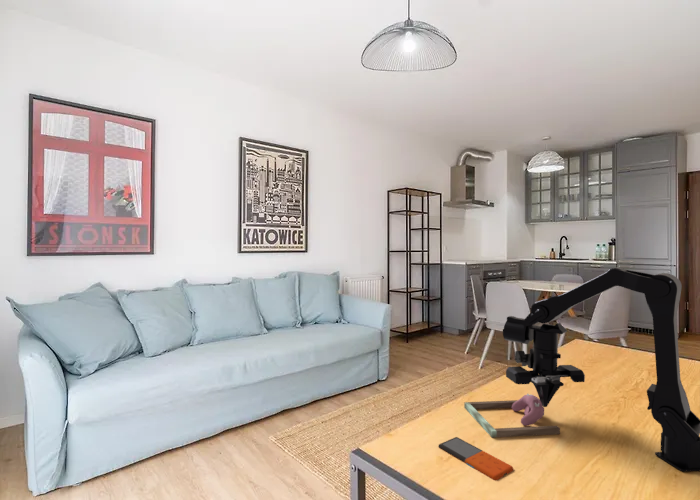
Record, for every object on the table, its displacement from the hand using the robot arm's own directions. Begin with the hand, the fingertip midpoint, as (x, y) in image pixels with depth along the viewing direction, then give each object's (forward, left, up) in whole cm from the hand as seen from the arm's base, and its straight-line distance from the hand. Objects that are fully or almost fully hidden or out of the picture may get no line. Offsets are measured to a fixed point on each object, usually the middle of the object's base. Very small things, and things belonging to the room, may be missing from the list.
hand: (544, 406), depth 102 cm
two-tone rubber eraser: (-16, +26, -4) cm, 31 cm away
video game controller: (0, +4, -3) cm, 6 cm away
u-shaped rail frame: (0, +9, -3) cm, 10 cm away
